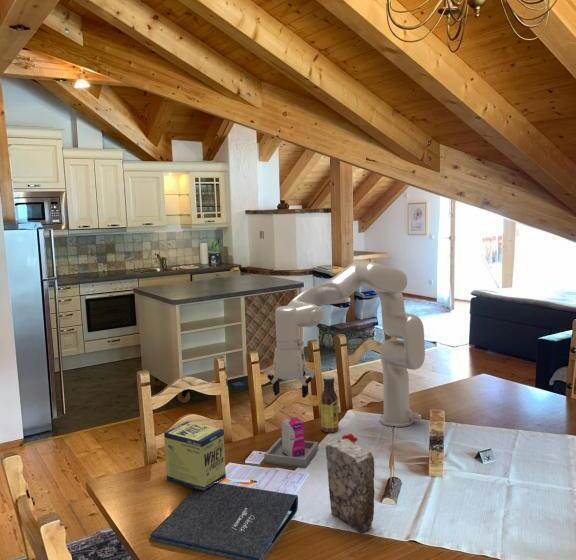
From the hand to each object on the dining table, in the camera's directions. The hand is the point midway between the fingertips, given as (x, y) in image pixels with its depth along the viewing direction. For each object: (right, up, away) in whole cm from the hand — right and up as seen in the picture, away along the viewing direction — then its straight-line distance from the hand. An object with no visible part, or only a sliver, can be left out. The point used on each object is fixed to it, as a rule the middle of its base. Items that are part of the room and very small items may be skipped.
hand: (290, 395), depth 181 cm
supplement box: (+1, -20, +2) cm, 20 cm away
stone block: (+16, -25, -37) cm, 48 cm away
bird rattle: (+19, -21, -7) cm, 29 cm away
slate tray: (0, -21, +2) cm, 21 cm away
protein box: (-29, -24, -11) cm, 39 cm away
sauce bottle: (+15, -18, +23) cm, 33 cm away
